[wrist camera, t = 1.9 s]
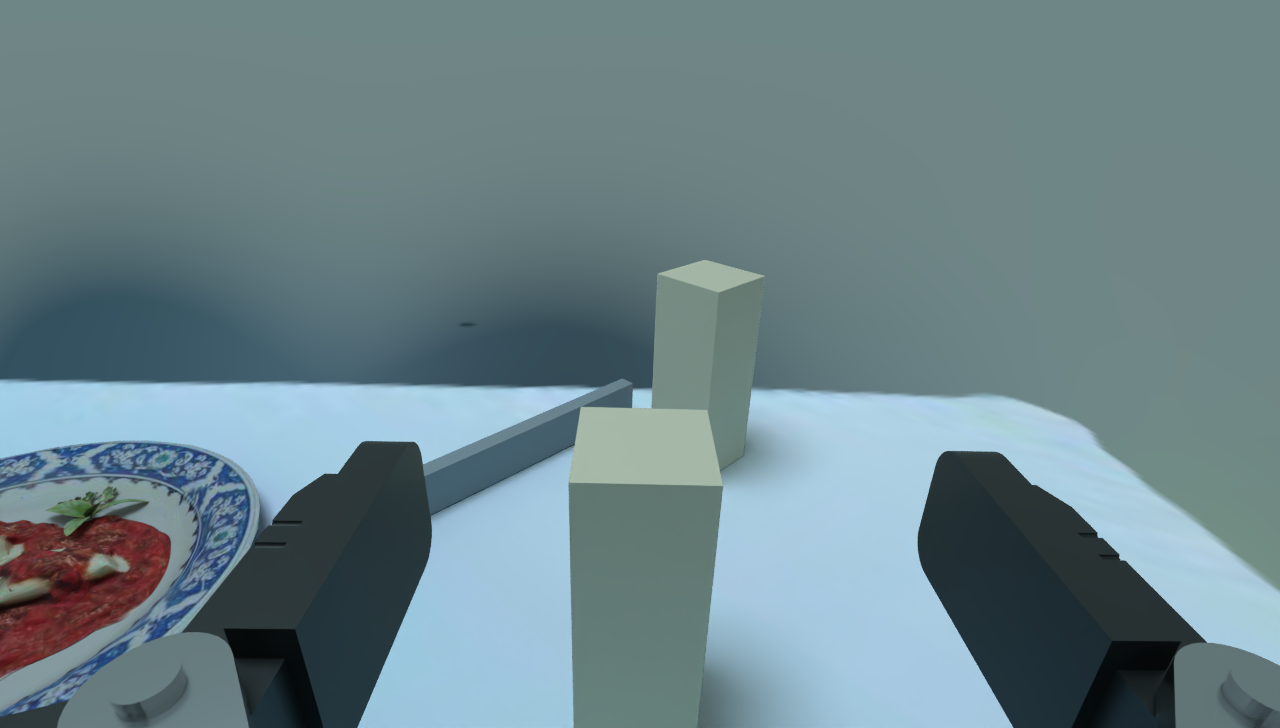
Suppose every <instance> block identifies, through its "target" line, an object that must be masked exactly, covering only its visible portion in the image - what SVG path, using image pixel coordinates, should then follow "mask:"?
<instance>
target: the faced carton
mask: <svg viewBox="0 0 1280 728" xmlns="http://www.w3.org/2000/svg"><path fill="white" fill-rule="evenodd" d="M764 280H765V276H763V275H759V274H755V273H751V272H747V271H744V270H741V269H736V268H733V267H729V266H726V265H722V264H718V263H715V262H711V261H707V260H703V261H700V262H696V263H693V264H689V265H686V266H682V267H679V268H676V269H672V270H669V271H665V272H662V273H659V274H657V298H656V320H655V343H654V367H653V389H652V409H689V410H707V411H708V416H709V421H710V426H711V430H712V435H713V440H714V445H715V450H716V454H717V459H718V464H719V469H720V471H721V470H722V469H724V468H725V467H727V466H728V465H730V464H731V463H733V462H734V461H736V460H737V459H739V458H740V457H742V456H743V455H744V447H745V439H746V431H747V422H748V414H749V405H750V397H751V389H752V380H753V371H754V364H755V354H756V347H757V339H758V329H759V321H760V313H761V305H762V296H763V288H764Z"/></svg>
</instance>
